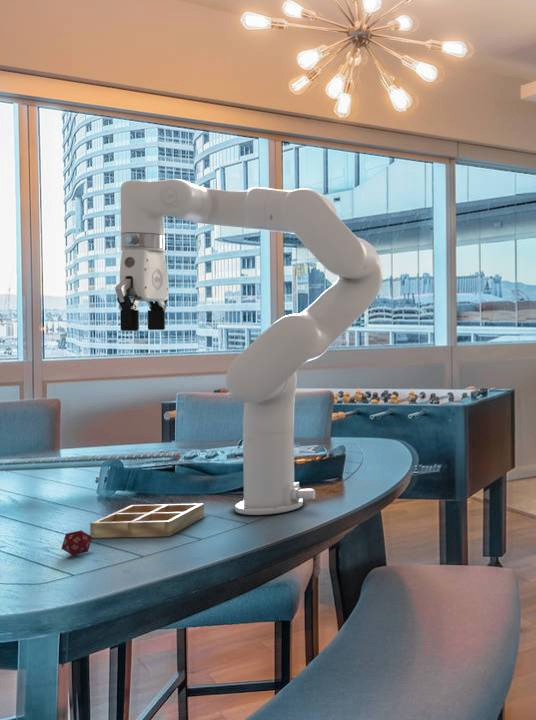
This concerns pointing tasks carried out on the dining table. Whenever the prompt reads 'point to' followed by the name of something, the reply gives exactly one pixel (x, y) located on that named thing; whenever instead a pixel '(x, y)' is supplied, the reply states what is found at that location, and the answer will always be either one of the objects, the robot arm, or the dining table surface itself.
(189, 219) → the robot arm
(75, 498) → the dining table surface
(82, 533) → the dice
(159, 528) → the wooden compartment tray
